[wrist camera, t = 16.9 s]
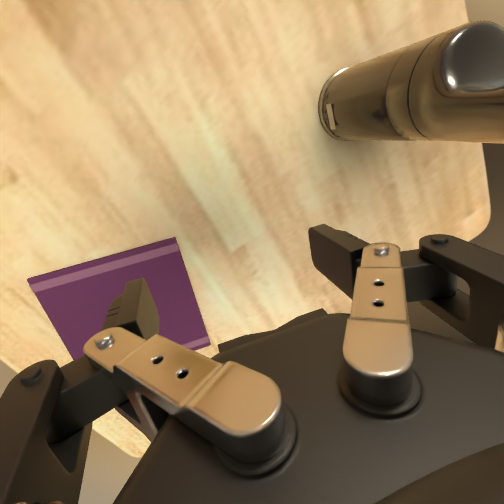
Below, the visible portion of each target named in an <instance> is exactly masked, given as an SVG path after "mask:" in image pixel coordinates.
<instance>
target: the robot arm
mask: <svg viewBox="0 0 504 504" xmlns="http://www.w3.org/2000/svg"><path fill="white" fill-rule="evenodd" d="M319 116H320V120H321V123H322V125H323V127H324V128H325V130H326V131H327V132H328V133H329V134H330V135H331V136H332V137H334V138H336V139H339V140H403V141H461V142H479V143H504V28H503V27H501V26H500V25H498V24H496V23H494V22H490V21H476V22H471V23H467V24H464V25H461V26H459V27H456V28H453V29H451V30H448V31H446V32H443V33H440V34H438V35H435V36H432V37H430V38H427V39H424V40H422V41H419V42H417V43H414V44H412V45H409V46H406V47H404V48H401V49H398V50H395V51H393V52H390V53H387V54H385V55H382V56H379V57H377V58H374V59H371V60H369V61H366V62H363V63H360V64H357V65H355V66H351V67H347V68H345V69H342V70H340V71H338V72H336V73H335V74H334V75H332V76H331V77H330V78H329V80H328V81H327V82H326V84H325V86H324V87H323V90H322V92H321V95H320V100H319ZM308 234H309V241H310V249H311V256H312V261H313V264H314V266H315V267H316V269H317V270H319V271H320V272H321V273H322V274H323V275H324V276H325V277H327V278H328V279H329V280H330V281H331V282H332V283H334V284H335V285H336V286H337V287H338V288H339V289H340V290H342V291H343V292H344V293H345V294H346V295H347V296H349V297H350V298H351V299H352V307H351V313H350V314H346V313H335V314H327V313H326V311H325V310H324V309H323V308H321V309H318V310H316V311H313V312H310V313H307V314H304V315H301V316H298V317H296V318H295V319H293V320H291V321H290V322H288V323H286V324H284V325H283V326H281V327H279V328H277V329H275V330H273V331H267V332H261V333H255V334H250V335H244V336H241V337H238V338H236V339H233V340H230V341H227V342H224V343H221V344H218V348H219V352H220V353H218V354H217V355H215V356H214V357H212V358H211V359H210V358H208V357H206V356H204V355H202V354H200V353H197V352H195V351H193V350H191V349H189V348H187V347H184V346H182V345H180V344H178V343H176V342H174V341H171V340H169V339H167V338H165V337H163V336H161V335H159V315H158V311H157V308H156V305H155V302H154V300H153V297H152V295H151V292H150V290H149V287H148V285H147V282H146V280H145V279H144V278H140V279H136V280H133V281H129V282H127V283H126V285H125V289H124V293H123V295H120V296H117V297H116V298H115V299H114V300H113V301H112V302H111V304H110V306H109V309H108V312H107V315H106V318H105V322H104V325H103V328H102V331H101V332H99V333H97V334H96V335H94V336H93V337H91V338H90V339H89V340H88V341H87V342H86V344H85V345H84V347H83V352H84V355H83V356H81V357H80V358H78V359H76V360H74V361H72V362H70V363H68V364H66V365H64V366H63V367H61V368H59V366H58V364H57V363H56V361H54V360H44V361H40V362H37V363H35V364H33V365H31V366H29V367H27V368H26V369H24V370H23V371H21V372H20V373H19V374H17V375H16V376H15V377H14V378H13V379H12V380H11V381H10V383H9V384H8V386H7V388H6V389H5V391H4V393H3V395H2V396H1V398H0V504H78V500H79V495H80V489H81V484H82V478H83V473H84V468H85V462H86V457H87V451H88V446H89V440H90V435H91V429H92V421H94V420H96V419H97V418H99V417H100V416H102V415H104V414H105V413H107V412H108V411H110V410H112V409H113V408H115V409H116V410H117V411H118V412H119V413H120V414H121V415H122V416H123V417H125V418H126V419H127V420H128V421H129V422H131V423H132V424H133V425H134V426H135V427H136V428H138V429H139V430H140V431H141V432H142V433H143V434H144V435H145V436H146V437H147V438H148V439H149V440H150V442H151V444H150V446H149V447H148V449H147V451H146V452H145V454H144V455H143V457H142V458H141V460H140V462H139V463H138V465H137V466H136V468H135V469H134V471H133V473H132V474H131V476H130V477H129V479H128V481H127V482H126V484H125V485H124V487H123V488H122V490H121V491H120V493H119V495H118V496H117V498H116V499H115V501H114V503H113V504H504V256H503V255H501V254H498V253H495V252H493V251H490V250H488V249H485V248H482V247H480V246H477V245H475V244H472V243H469V242H467V241H464V240H462V239H459V238H457V237H454V236H450V235H443V234H435V235H428V236H425V237H422V238H421V239H420V240H419V249H416V250H409V251H402V252H400V248H399V247H398V246H397V245H394V244H391V243H374V244H369V243H367V242H365V241H363V240H361V239H358V238H357V237H356V236H353V235H352V234H350V233H348V232H346V231H340V230H335V229H333V228H331V227H329V226H328V225H326V224H321V225H318V226H315V227H311V228H309V231H308ZM458 276H459V277H461V278H462V279H464V280H465V281H466V282H467V283H468V285H469V288H470V296H469V295H467V294H466V293H464V292H462V291H460V290H459V289H457V279H458ZM412 301H419V302H420V303H421V304H422V305H423V306H425V307H426V308H427V309H429V310H430V311H432V312H433V313H434V314H436V315H437V316H439V317H440V318H441V319H443V320H444V321H445V322H447V323H448V324H449V325H451V326H452V327H454V328H455V329H456V330H458V331H459V332H461V333H462V334H463V335H465V336H466V337H467V338H469V339H470V340H472V341H473V342H474V343H476V344H473V343H469V342H465V341H461V340H456V339H453V338H449V337H444V336H441V335H436V334H432V333H428V332H424V331H420V330H416V329H412V328H410V322H409V319H408V310H407V302H412Z"/></svg>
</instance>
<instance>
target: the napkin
mask: <svg viewBox="0 0 504 504" xmlns="http://www.w3.org/2000/svg"><path fill="white" fill-rule="evenodd" d="M140 278H144V279H145V280H146V282H147V285H148V287H149V290H150V292H151V295H152V297H153V300H154V302H155V305H156V308H157V311H158V315H159V335H161V336H163V337H165V338H167V339H169V340H171V341H174V342H176V343H178V344H180V345H182V346H184V347H187V348H189V349H191V350H193V351H195V350H198V349H201V348H203V347H206V346H209V345H211V344H210V341H209V338H208V335H207V332H206V329H205V325H204V322H203V319H202V316H201V313H200V310H199V307H198V304H197V301H196V298H195V295H194V292H193V289H192V286H191V283H190V280H189V277H188V274H187V271H186V268H185V265H184V262H183V259H182V256H181V253H180V250H179V247H178V244H177V241H176V238H175V237H174V238H170V239H167V240H163V241H160V242H156V243H152V244H149V245H145V246H142V247H138V248H135V249H131V250H128V251H124V252H121V253H117V254H113V255H110V256H106V257H103V258H99V259H96V260H92V261H89V262H85V263H81V264H78V265H74V266H71V267H67V268H64V269H60V270H57V271H53V272H50V273H46V274H42V275H39V276H35V277H32V278H28V279H27V281H28V283H29V286H30V287H31V289H32V291H33V293H35V295H36V297H37V298H38V300H39V302H40V303H41V305H42V307H43V309H44V310H45V312H46V314H47V315H48V317H49V319H50V321H51V322H52V324H53V326H54V327H55V329H56V331H57V332H58V334H59V336H60V338H61V339H62V341H63V343H64V344H65V346H66V348H67V350H68V351H69V353H70V355H71V356H72V358H73V360H76V359H78V358H80V357H81V356H83V355H84V352H83V347H84V345H85V344H86V342H87V341H88V340H89V339H90V338H91V337H93V336H94V335H96V334H97V333H99V332H101V331H102V328H103V325H104V322H105V318H106V315H107V312H108V309H109V306H110V304H111V302H112V301H113V300H114V299H115V298H116V297H117V296H120V295H123V293H124V289H125V285H126V283H127V282H129V281H133V280H136V279H140Z"/></svg>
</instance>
